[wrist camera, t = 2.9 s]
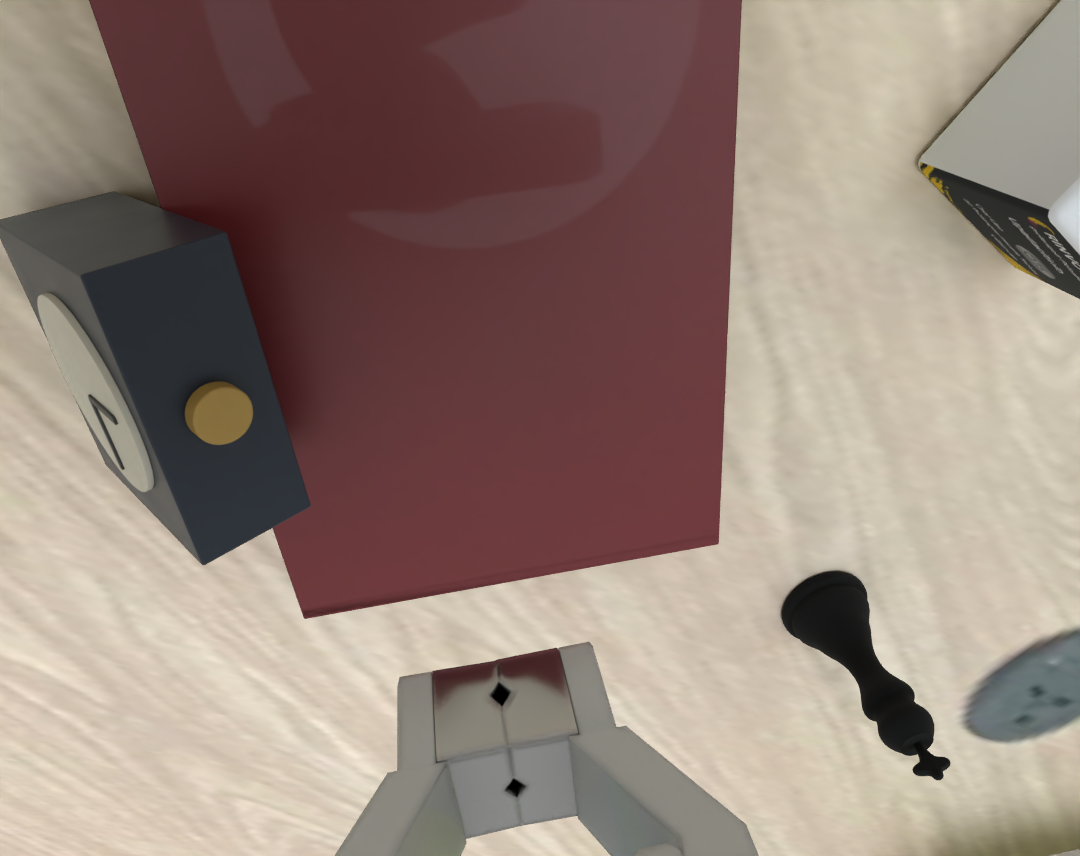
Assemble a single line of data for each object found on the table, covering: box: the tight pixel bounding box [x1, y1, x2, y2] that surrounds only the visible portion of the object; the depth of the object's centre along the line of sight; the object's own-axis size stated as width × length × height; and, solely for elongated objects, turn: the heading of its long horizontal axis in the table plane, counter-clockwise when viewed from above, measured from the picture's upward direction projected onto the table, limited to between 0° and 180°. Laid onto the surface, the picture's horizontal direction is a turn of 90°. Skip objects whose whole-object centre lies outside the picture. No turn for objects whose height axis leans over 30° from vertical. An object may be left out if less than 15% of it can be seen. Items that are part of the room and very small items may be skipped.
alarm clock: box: [0, 192, 311, 565], centre depth 23 cm, size 9×7×8 cm
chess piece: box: [782, 572, 950, 780], centre depth 35 cm, size 4×4×10 cm
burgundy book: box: [89, 0, 742, 619], centre depth 26 cm, size 24×17×3 cm
